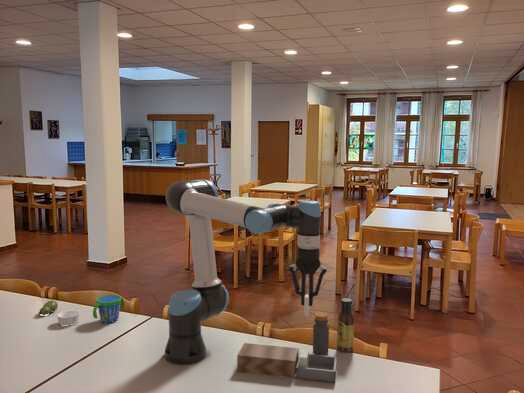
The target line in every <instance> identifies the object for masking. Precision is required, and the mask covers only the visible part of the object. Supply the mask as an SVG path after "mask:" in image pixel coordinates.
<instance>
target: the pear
mask: <svg viewBox="0 0 524 393" xmlns="http://www.w3.org/2000/svg"><path fill="white" fill-rule="evenodd" d="M58 307H59V306H58V302H57V301H56V300H48V301H47V302H46V303H44V304H43V305H42V307H41V308H40V309H39V311H38V315H39V314H43V315H45V314H48V313H53V312H52V311H54V312H55V310H57V309H58Z"/></svg>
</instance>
